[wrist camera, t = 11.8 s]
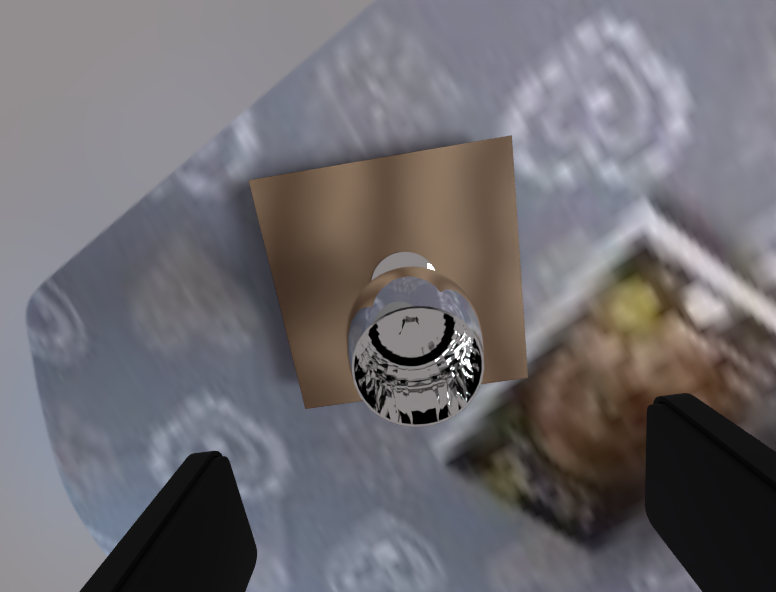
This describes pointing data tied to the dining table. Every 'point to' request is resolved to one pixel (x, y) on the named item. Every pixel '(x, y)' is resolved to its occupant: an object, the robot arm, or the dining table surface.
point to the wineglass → (414, 343)
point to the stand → (393, 249)
